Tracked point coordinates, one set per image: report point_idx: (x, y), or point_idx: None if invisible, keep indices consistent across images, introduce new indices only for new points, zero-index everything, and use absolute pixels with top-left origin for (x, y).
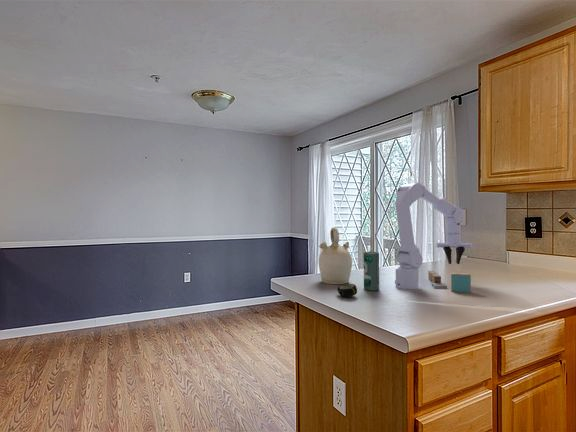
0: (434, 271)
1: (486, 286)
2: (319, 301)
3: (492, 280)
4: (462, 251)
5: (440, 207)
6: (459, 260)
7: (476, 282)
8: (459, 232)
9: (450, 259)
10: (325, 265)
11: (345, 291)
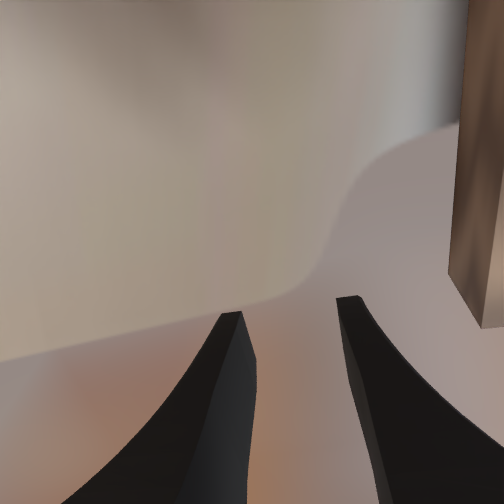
0: (487, 302)
1: (3, 85)
2: None
3: (13, 339)
4: (98, 499)
5: None
6: (210, 344)
7: (106, 243)
8: None
9: (364, 337)
10: None
11: None
